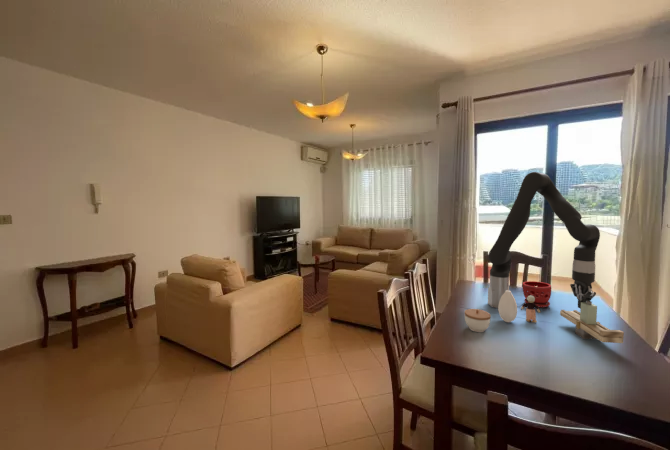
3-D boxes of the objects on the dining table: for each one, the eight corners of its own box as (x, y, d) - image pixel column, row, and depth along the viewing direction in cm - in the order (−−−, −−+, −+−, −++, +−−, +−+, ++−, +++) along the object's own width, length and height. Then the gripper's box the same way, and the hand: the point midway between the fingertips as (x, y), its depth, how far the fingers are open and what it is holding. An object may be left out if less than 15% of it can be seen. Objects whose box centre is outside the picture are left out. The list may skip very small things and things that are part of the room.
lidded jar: (466, 322, 138) (467, 303, 137) (491, 327, 131) (492, 308, 131) (462, 330, 129) (462, 311, 128) (488, 337, 123) (489, 316, 122)
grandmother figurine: (538, 320, 138) (539, 295, 136) (540, 323, 134) (541, 297, 133) (519, 318, 141) (520, 293, 140) (521, 321, 137) (522, 296, 136)
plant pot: (549, 302, 160) (550, 282, 159) (551, 310, 149) (552, 288, 148) (521, 298, 167) (522, 279, 166) (522, 306, 156) (523, 285, 155)
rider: (586, 324, 119) (587, 303, 118) (579, 320, 123) (581, 299, 122) (596, 324, 119) (597, 303, 118) (589, 320, 122) (590, 299, 122)
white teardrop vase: (518, 326, 132) (520, 288, 131) (500, 324, 135) (501, 287, 133) (514, 319, 140) (515, 283, 138) (496, 317, 142) (497, 282, 141)
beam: (599, 351, 109) (601, 331, 108) (558, 322, 134) (559, 305, 134) (624, 353, 108) (625, 332, 107) (577, 323, 133) (578, 306, 132)
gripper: (564, 266, 130) (562, 302, 132) (584, 273, 117) (582, 314, 119) (582, 266, 129) (580, 303, 131) (605, 274, 116) (602, 314, 118)
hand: (581, 308), depth 125 cm, fingers closed
